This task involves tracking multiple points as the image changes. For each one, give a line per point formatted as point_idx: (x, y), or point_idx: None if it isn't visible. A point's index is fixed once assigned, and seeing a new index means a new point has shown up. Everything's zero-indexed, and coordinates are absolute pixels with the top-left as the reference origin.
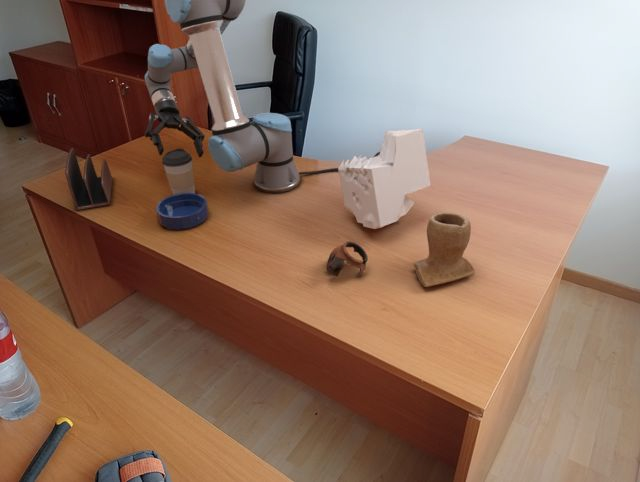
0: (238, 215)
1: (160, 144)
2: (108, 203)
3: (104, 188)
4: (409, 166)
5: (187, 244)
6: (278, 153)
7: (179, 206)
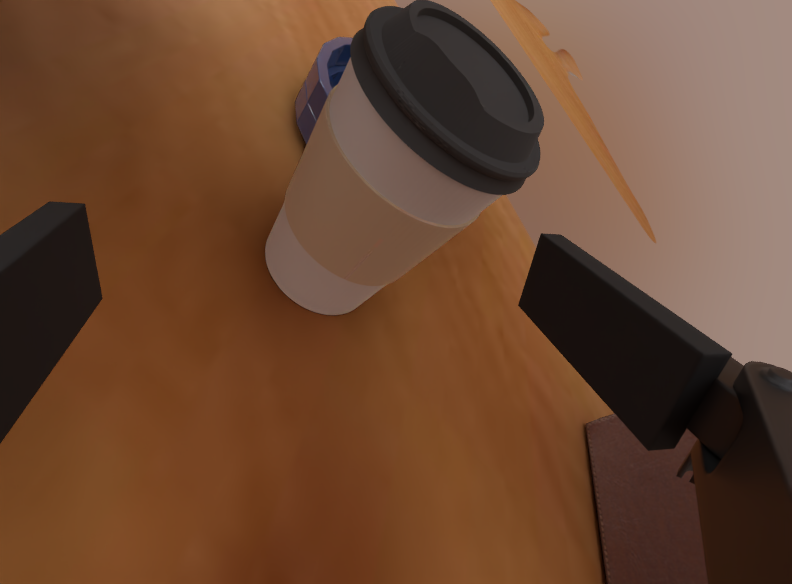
0: (214, 6)
1: (596, 262)
2: (593, 421)
3: None
4: None
5: None
6: None
7: None
